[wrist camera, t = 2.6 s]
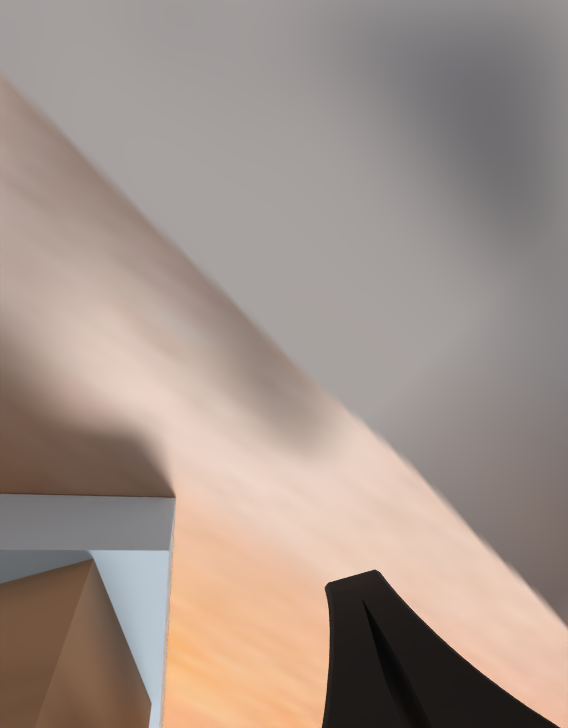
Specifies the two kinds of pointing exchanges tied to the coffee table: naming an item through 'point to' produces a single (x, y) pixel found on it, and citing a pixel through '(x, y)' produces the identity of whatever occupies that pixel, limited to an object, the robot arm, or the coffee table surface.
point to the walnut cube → (66, 655)
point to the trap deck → (103, 562)
